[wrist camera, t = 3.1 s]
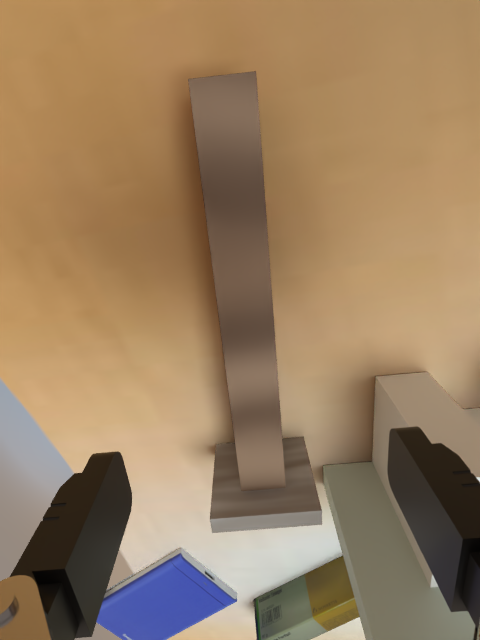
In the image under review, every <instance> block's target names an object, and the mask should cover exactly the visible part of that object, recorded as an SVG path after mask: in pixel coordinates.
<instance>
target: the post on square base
mask: <svg viewBox="0 0 480 640" xmlns="http://www.w3.org/2000/svg"><path fill="white" fill-rule="evenodd" d="M188 82H189V89H190V97H191V105H192V113H193V120H194V128H195V136H196V144H197V151H198V159H199V167H200V175H201V182H202V190H203V198H204V206H205V213H206V221H207V229H208V237H209V244H210V252H211V260H212V268H213V275H214V283H215V291H216V299H217V306H218V314H219V322H220V330H221V337H222V345H223V353H224V361H225V368H226V376H227V384H228V392H229V399H230V407H231V415H232V423H233V430H234V438H235V443H224V444H216V450H215V462H214V475H213V487H212V500H211V512H210V522H211V528H212V533H218V532H231V531H244V530H257V529H270V528H283V527H296V526H309V525H322V510H321V506H320V502H319V498H318V494H317V490H316V486H315V481H314V477H313V473H312V469H311V465H310V461H309V457H308V453H307V449H306V445H305V441H304V437H295V438H283V439H282V429H281V415H280V401H279V387H278V373H277V359H276V345H275V331H274V317H273V303H272V289H271V275H270V261H269V246H268V232H267V218H266V204H265V190H264V176H263V162H262V148H261V134H260V120H259V106H258V92H257V78H256V71H254V72H245V73H237V74H228V75H219V76H211V77H202V78H193V79H188Z"/></svg>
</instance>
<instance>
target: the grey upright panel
mask: <svg viewBox="0 0 480 640" xmlns="http://www.w3.org/2000/svg"><path fill="white" fill-rule="evenodd" d="M415 426H418V427H420V428H421V430H422V431H423V432H424V434H425V435H426V436H427V438H428V439H429V441H430V442H431V443H432V444H435V443H442V444H443V445H445V446H446V447H448V448H449V449H450V450H452V451H453V452H455V453H456V454H458V455H459V456H460V458H461V459H462V460H463V461H464V463H465V464H466V465H467V466H468V468H469V469H470V471H471V473H473V474H474V475H475V477H476V478H477V479H478V480H479V482H480V408H473V409H462V408H461V407H460V406H459V405H458V404H457V403H456V402H455V401H454V399H453V398H452V397H451V396H450V395H449V394H448V393H447V392H446V391H445V390H444V389H443V388H442V387H441V386H440V385H439V384H438V383H437V381H436V380H435V379H434V378H433V377H432V376H431V375H430V374H429V373H428V372H420V373H409V374H397V375H386V376H376V377H375V402H374V428H373V453H372V462H360V463H347V464H335V465H323V482H324V488H325V491H326V495H327V499H328V502H329V506H330V510H331V513H332V517H333V520H334V524H335V528H336V531H337V535H338V539H339V542H340V546H341V550H342V553H343V557H344V561H345V564H346V568H347V572H348V575H349V579H350V583H351V586H352V590H353V594H354V597H355V601H356V605H357V608H358V612H359V616H360V619H361V623H362V627H363V630H364V634H365V638H366V640H473V634H474V629H475V624H474V622H473V620H472V618H471V616H470V614H469V612H468V611H460V612H451V611H450V609H449V607H448V605H447V603H446V601H445V599H444V597H443V595H442V593H441V591H440V589H439V587H438V585H437V583H436V581H435V579H434V576H433V574H432V572H431V570H430V568H429V566H428V564H427V562H426V560H425V558H424V556H423V554H422V552H421V550H420V548H419V546H418V544H417V542H416V540H415V538H414V536H413V533H412V531H411V529H410V527H409V525H408V523H407V521H406V519H405V517H404V515H403V513H402V511H401V509H400V507H399V505H398V503H397V501H396V499H395V497H394V495H393V492H392V490H391V487H390V484H389V480H388V473H387V465H388V447H389V433H390V430H391V429H392V428H403V427H415Z"/></svg>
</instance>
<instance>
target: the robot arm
mask: <svg viewBox="0 0 480 640" xmlns="http://www.w3.org/2000/svg"><path fill="white" fill-rule="evenodd" d="M387 473H388V480H389V484H390V487H391V490H392V492H393V495H394V497H395V499H396V501H397V503H398V505H399V507H400V509H401V511H402V513H403V515H404V517H405V519H406V521H407V523H408V525H409V527H410V529H411V531H412V533H413V536H414V538H415V540H416V542H417V544H418V546H419V548H420V550H421V552H422V554H423V556H424V558H425V560H426V562H427V564H428V566H429V568H430V570H431V572H432V574H433V576H434V579H435V581H436V583H437V585H438V587H439V589H440V591H441V593H442V595H443V597H444V599H445V601H446V603H447V605H448V607H449V609H450V611H451V612H460V611H468V612H469V614H470V616H471V618H472V620H473V622H474V624H475V629H474V634H473V640H480V482H479V480H478V479H477V478H476V477H475V475H474V474H473V473H471V471H470V469H469V468H468V466H467V465H466V464H465V463H464V461H463V460H462V459H461V458H460V456H459V455H458V454H456V453H455V452H453V451H452V450H450V449H449V448H448V447H446V446H445V445H443V444H442V443H435V444H432V443H431V442H430V441H429V439H428V438H427V436H426V435H425V434H424V432H423V431H422V430H421V428H420V427H418V426H415V427H403V428H392V429H391V430H390V433H389V447H388V465H387ZM131 506H132V492H131V487H130V484H129V480H128V476H127V473H126V469H125V465H124V461H123V458H122V455H121V453H120V452H107V453H96V454H93V455H92V456H91V457H90V459H89V461H88V463H87V464H86V466H85V468H84V470H83V472H82V473H75V474H73V475H72V477H71V478H70V479H68V480H67V481H66V482H65V483H64V484H63V485H62V486H61V487H60V489H59V490H58V492H57V494H56V496H55V497H54V499H53V501H52V503H51V507H49V508H48V510H47V512H46V513H45V515H44V517H43V521H41V522H40V524H39V526H38V528H37V530H36V531H35V533H34V535H33V537H32V538H31V540H30V542H29V544H28V546H27V547H26V549H25V551H24V553H23V554H22V556H21V558H20V560H19V562H18V563H17V565H16V567H15V569H14V570H13V572H12V574H11V576H10V577H9V578H7V579H4V580H2V581H0V640H74V639H75V638H81V637H92V634H93V631H94V627H95V624H96V621H97V618H98V615H99V612H100V608H101V605H102V602H103V599H104V596H105V592H106V589H107V586H108V583H109V580H110V576H111V573H112V570H113V567H114V564H115V560H116V557H117V554H118V551H119V548H120V544H121V541H122V538H123V535H124V531H125V528H126V525H127V522H128V519H129V515H130V512H131Z"/></svg>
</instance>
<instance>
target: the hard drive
mask: <svg viewBox="0 0 480 640" xmlns="http://www.w3.org/2000/svg"><path fill="white" fill-rule="evenodd" d="M235 602H237V592H235V591H234V590H233V589H232V588H230V587H229V586H228V585H227V584H226V583H224V582H223V581H222V580H221V579H219V578H218V577H217V576H216V575H214V574H213V573H212V572H211V571H210V570H208V569H207V568H206V567H205V566H203V565H202V564H201V563H200V562H199V561H197V560H196V559H195V558H194V557H192V556H191V555H190V554H189V553H188V552H186V551H185V550H184V549H183V548H180V549H178V550H176V551H175V552H173V553H171V554H169V555H168V556H166V557H164V558H163V559H161V560H159V561H158V562H156V563H154V564H153V565H151V566H149V567H148V568H146V569H144V570H143V571H141V572H139V573H138V574H136V575H134V573H133V574H132V575H130V576H128V577H127V578H125V579H123V580H122V581H120V582H118V583H117V584H115V585H114V586H112V587H110V588H109V589H107V590H106V592H105V596H104V599H103V602H102V605H101V608H100V612H99V615H98V618H97V621H96V622H97V623H98V624H100V625H101V626H103V627H104V628H106V629H107V630H109V631H110V632H112V633H113V634H115V635H116V636H118V637H119V638H121V639H122V640H166V639H168V638H170V637H172V636H174V635H175V634H177V633H179V632H181V631H183V630H185V629H186V628H188V627H190V626H192V625H194V624H196V623H198V622H200V621H201V620H203V619H205V618H207V617H209V616H211V615H213V614H214V613H216V612H218V611H220V610H222V609H224V608H225V607H227V606H229V605H231V604H233V603H235Z"/></svg>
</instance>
